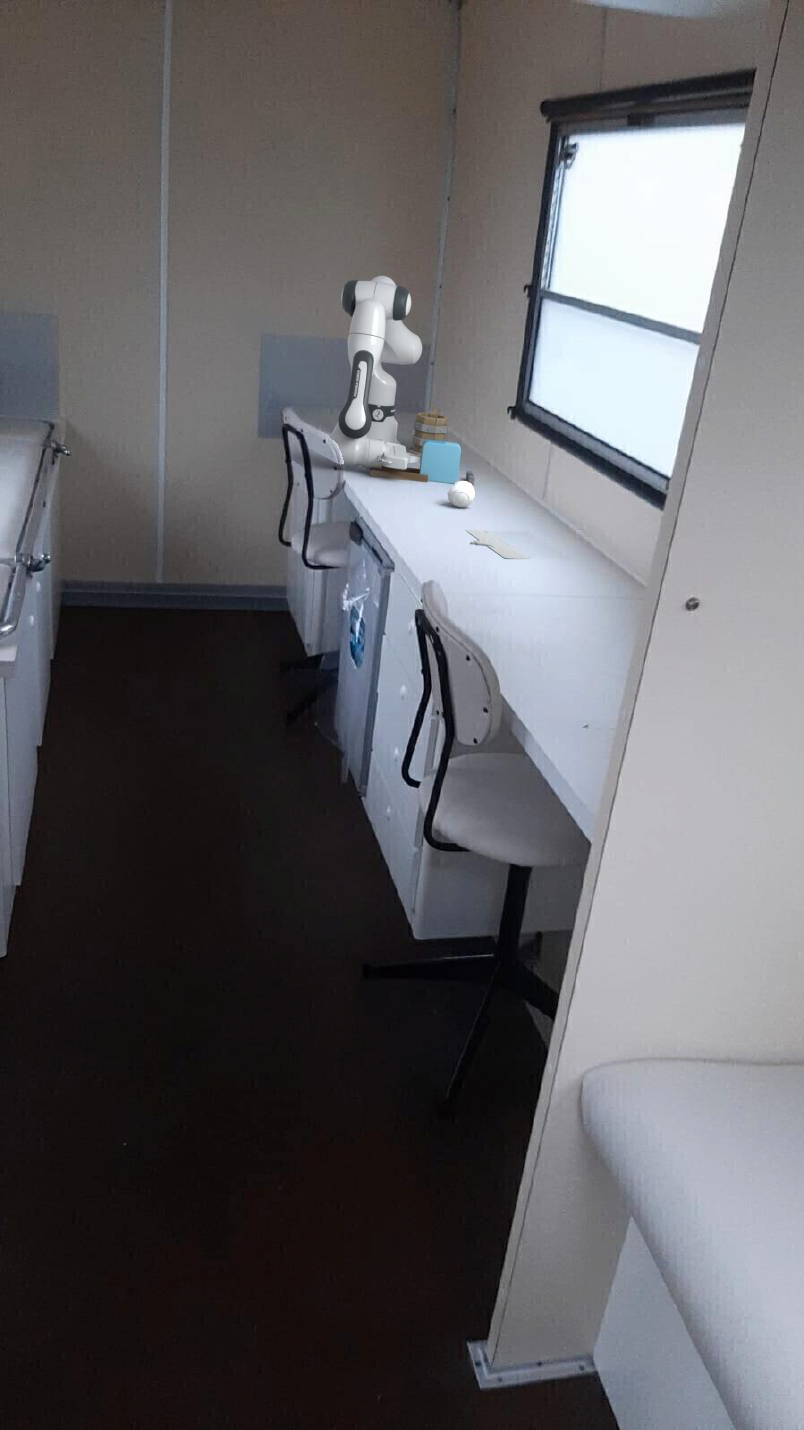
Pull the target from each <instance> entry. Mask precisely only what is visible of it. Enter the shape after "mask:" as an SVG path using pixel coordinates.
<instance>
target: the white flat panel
mask: <svg viewBox="0 0 804 1430" xmlns="http://www.w3.org/2000/svg"><path fill="white" fill-rule="evenodd" d="M465 532H467V533H469V534H470V535H471V536H472V537H474V538H475V539H477V540H474V541H470V542H469V544H470V545H475V546H483V547H484V546H485V547H488V548H490V549H491V550H492V551H494V552H495V553H496V554H498V555H499V556H500V557H502V558H503V559H510V560H511V559H513V560H515V559H517V560H531V558H530V557H529V556H527V555H525V554H523V553H522V552H520V551H519V550H517V549H515V548H513V547H511V546H510V545H508V544H506V543H505V542H503V541H501V540H500V539H498V538H496V537H495V536H493V535H491V534H490V533H488V532H486V531H485V530H476V529H475V530H473V529H466V531H465Z"/></svg>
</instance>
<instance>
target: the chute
mask: <svg viewBox="0 0 804 1430" xmlns="http://www.w3.org/2000/svg"><path fill="white" fill-rule="evenodd" d="M369 471H370V475H369V477H377V478H386V479H395V480H403V481H411V482H421V483H428V482H429V481H428V475H424V474H419V471H420V468H416V467H408V466H407V469H404V470H402V469H395V468H389V467H385V466H383V465H382V468H381V469H375V468H369ZM475 480H476V479H475V475H474V473H473V471H472V470H466V473H465V481H467V482H468V483H471V484H472V486H473V487H474V486H475Z"/></svg>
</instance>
